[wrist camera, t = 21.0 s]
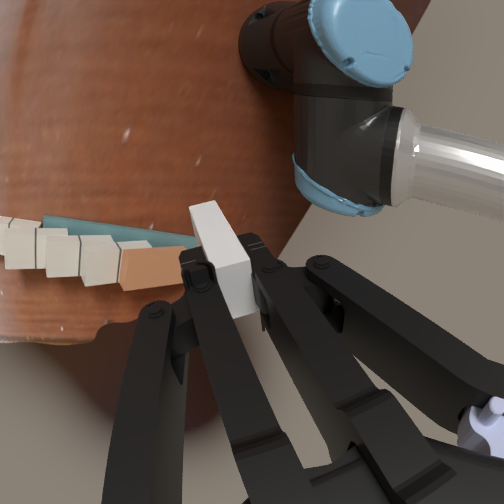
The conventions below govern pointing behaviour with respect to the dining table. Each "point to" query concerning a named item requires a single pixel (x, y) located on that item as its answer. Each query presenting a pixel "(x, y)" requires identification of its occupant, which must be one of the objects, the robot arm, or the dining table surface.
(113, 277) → the domino
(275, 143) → the dining table surface
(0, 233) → the domino
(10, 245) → the domino
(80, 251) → the domino
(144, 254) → the terracotta domino
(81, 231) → the domino board
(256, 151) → the dining table surface
